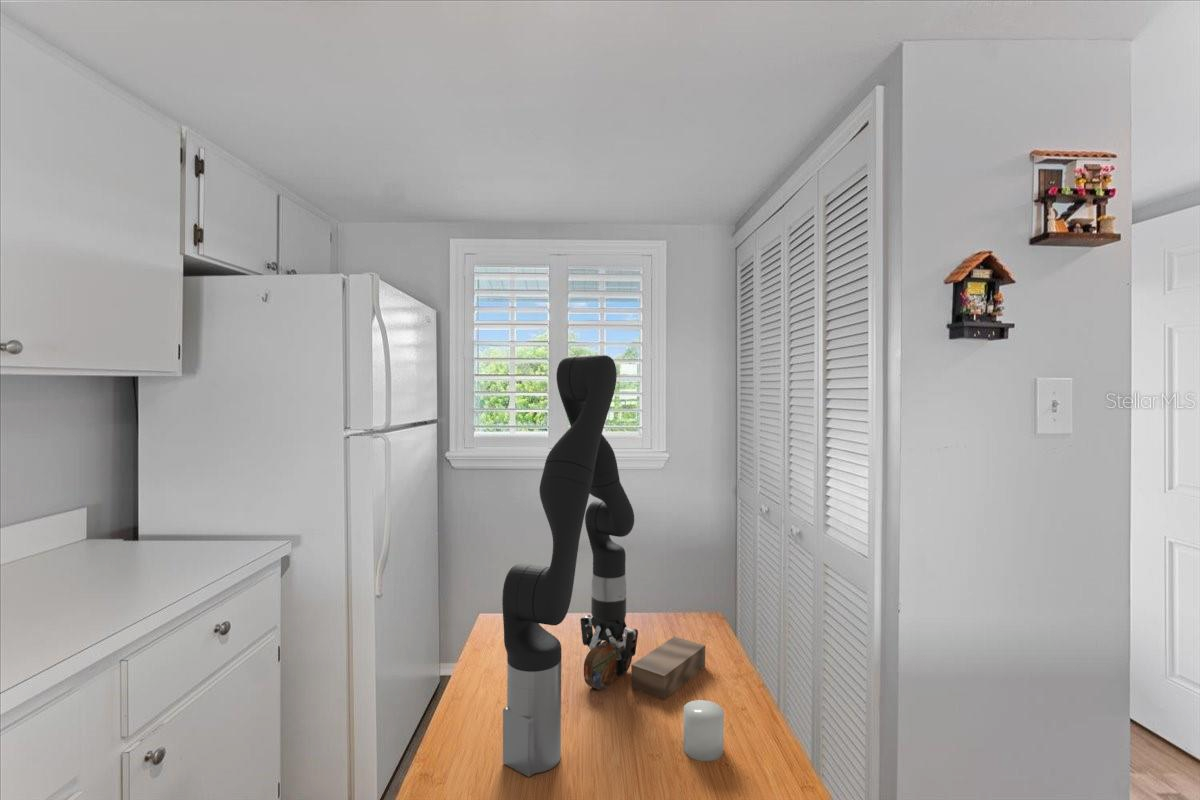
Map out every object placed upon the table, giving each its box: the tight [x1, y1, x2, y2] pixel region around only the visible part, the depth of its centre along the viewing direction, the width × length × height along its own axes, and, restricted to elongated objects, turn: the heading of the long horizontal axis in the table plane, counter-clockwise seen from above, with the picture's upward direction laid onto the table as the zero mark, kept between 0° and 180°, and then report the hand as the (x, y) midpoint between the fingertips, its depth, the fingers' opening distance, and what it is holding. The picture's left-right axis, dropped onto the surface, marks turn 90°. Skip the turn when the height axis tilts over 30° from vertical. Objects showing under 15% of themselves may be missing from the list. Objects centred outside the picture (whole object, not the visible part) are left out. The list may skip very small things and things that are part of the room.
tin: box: [583, 636, 633, 691], centre depth 135 cm, size 15×3×8 cm, turn 143°
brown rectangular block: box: [630, 636, 706, 701], centre depth 137 cm, size 18×8×5 cm, turn 143°
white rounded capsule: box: [682, 699, 725, 762], centre depth 111 cm, size 7×7×7 cm
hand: (608, 670), depth 135 cm, fingers open, 6 cm apart
